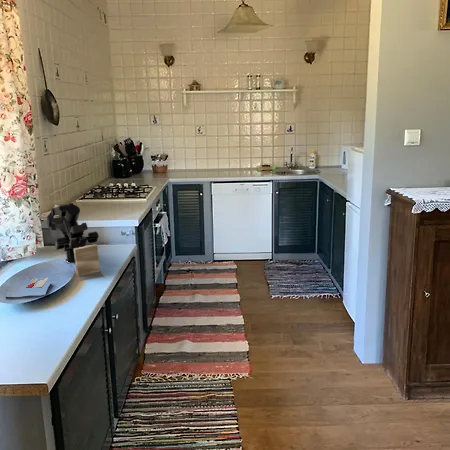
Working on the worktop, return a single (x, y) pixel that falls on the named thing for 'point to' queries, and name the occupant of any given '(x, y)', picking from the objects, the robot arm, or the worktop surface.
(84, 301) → the worktop surface
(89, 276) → the rubber mat
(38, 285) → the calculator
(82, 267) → the birch tile
